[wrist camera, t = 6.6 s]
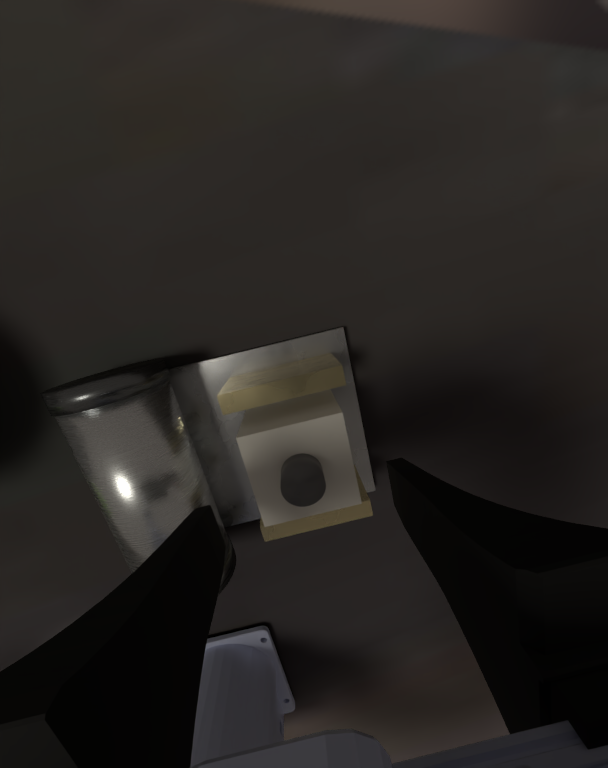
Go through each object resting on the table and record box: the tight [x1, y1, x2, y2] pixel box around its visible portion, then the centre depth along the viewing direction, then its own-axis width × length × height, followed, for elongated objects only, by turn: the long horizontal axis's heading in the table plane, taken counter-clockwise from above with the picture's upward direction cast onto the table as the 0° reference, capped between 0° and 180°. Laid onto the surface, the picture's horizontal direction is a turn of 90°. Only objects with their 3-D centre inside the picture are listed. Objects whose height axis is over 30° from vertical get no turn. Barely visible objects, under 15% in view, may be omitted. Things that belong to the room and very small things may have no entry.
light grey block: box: [236, 389, 362, 527], centre depth 16 cm, size 5×5×6 cm
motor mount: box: [41, 326, 375, 595], centre depth 16 cm, size 13×15×6 cm
